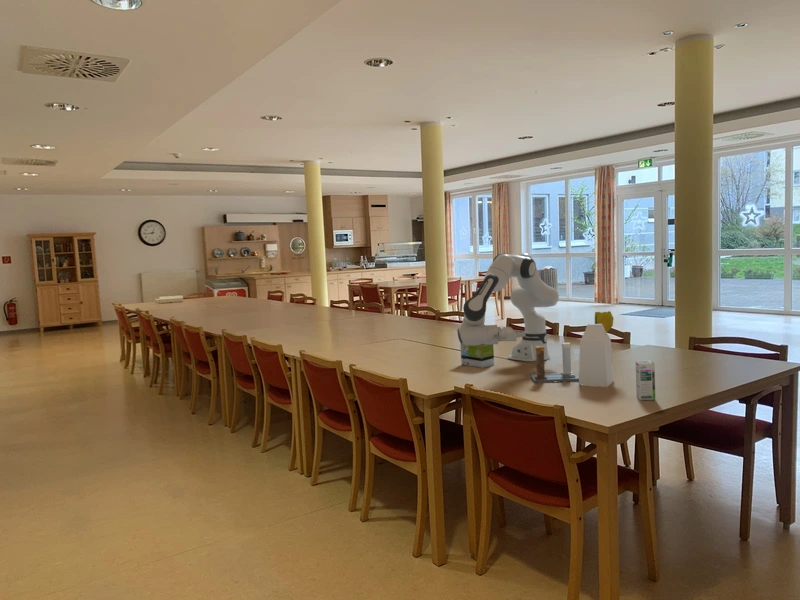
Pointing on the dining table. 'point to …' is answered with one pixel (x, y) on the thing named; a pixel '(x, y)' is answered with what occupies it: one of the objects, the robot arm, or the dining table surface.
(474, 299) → the robot arm
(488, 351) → the tea box
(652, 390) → the syrup box
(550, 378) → the control board
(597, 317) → the flower
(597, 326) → the milk
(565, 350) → the grey lever
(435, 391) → the dining table surface
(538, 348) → the walnut lever
